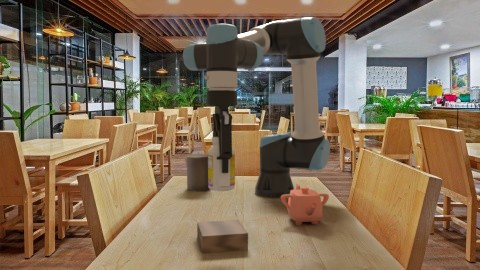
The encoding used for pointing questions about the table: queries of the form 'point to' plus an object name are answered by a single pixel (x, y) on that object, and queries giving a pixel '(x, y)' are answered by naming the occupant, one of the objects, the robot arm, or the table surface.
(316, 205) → the teapot
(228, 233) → the block
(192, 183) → the pillar candle
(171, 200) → the table surface
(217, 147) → the supplement bottle
